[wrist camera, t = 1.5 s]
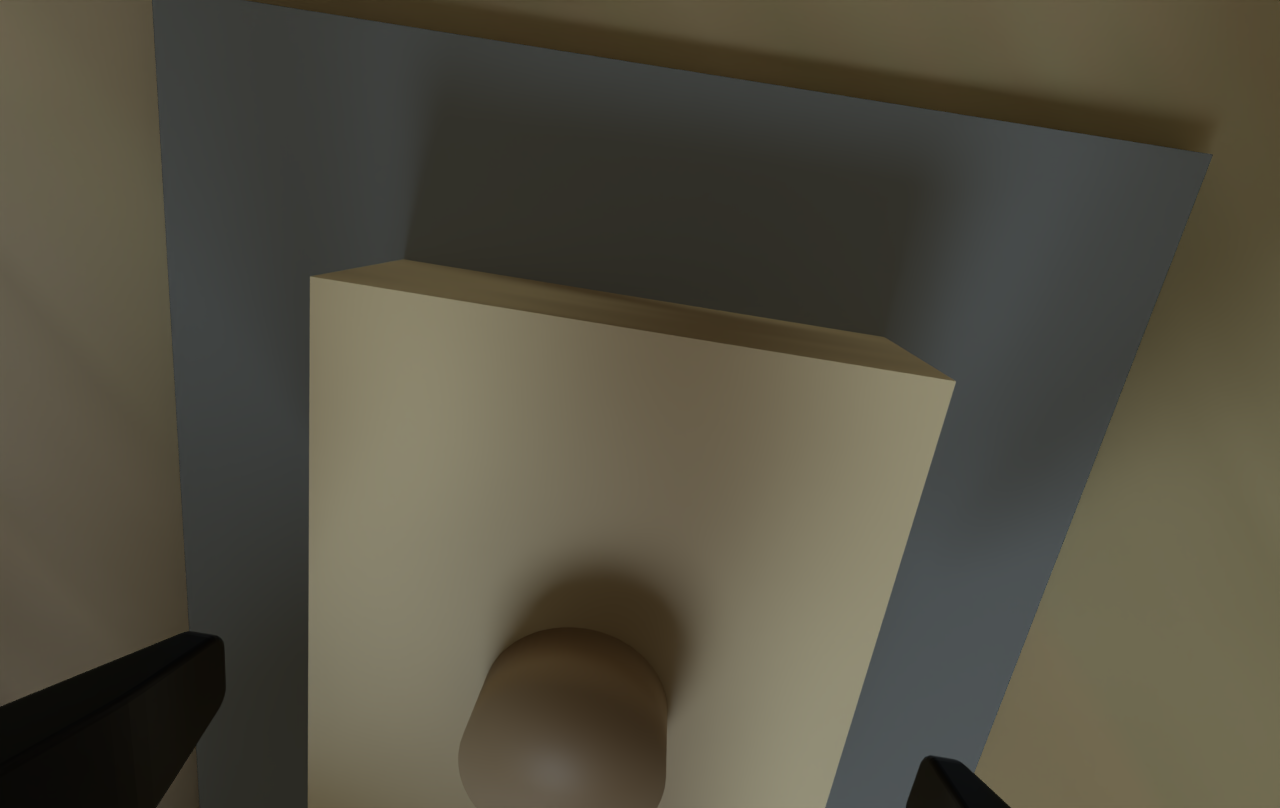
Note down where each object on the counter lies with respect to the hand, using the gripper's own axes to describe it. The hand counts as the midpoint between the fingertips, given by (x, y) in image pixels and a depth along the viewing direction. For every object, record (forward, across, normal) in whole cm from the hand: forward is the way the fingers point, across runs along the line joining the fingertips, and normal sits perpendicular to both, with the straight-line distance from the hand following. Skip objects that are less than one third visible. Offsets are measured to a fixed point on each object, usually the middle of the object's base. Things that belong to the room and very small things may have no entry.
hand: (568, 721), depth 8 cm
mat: (+3, 0, 0) cm, 3 cm away
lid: (+3, 0, 0) cm, 3 cm away
